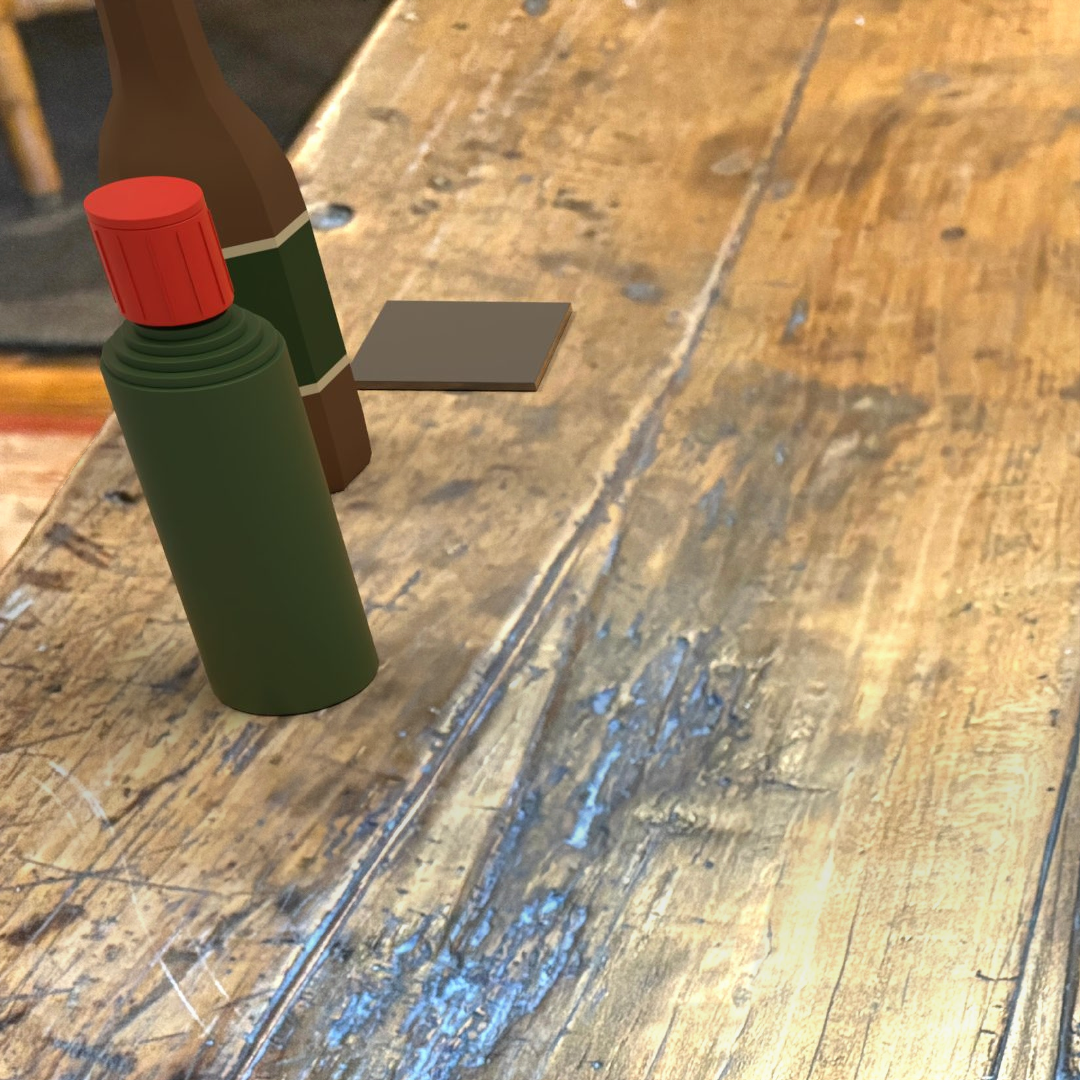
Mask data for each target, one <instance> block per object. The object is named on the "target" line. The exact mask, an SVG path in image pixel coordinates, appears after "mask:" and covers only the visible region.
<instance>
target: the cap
mask: <svg viewBox="0 0 1080 1080" xmlns="http://www.w3.org/2000/svg"><path fill="white" fill-rule="evenodd" d="M83 208H84V211H85V215H86V216H87V224H88V227H89V230H90V233H91V236H92V239H93V242H94V245H95V247H96V250H97V253H98V256H99V257H98V258H99V260H100V262H101V265H102V268H103V271H104V274H105V278H106V281H107V283H108V286H109V289H110V292H111V296H112V298H113V301H114V303H115V304H116V306H117V309H118V311H119V314H121V316H122V317H123V318H124V319H127V320H129V321H131V322H134V323H138V324H142V325H148V326H178V325H185V324H192V323H196V322H199V321H203V320H206V319H209V318H212V317H215V316H216V315H218V314H220V313H222V312H223V311H225V310H226V309H228V308H229V307H230V305H231V304H232V302H233V300H234V294H233V292H234V289H233V286H232V282H231V279H230V276H229V272H228V269H227V266H226V262H225V259H224V256H223V253H222V249H221V246H220V243H219V239H218V236H217V233H216V230H215V226H214V223H213V220H212V216H211V213H210V210H208V208H207V205H206V202H205V198H204V195H203V192H202V190H201V188H200V187H199V186H198V185H197V184H195V183H193V182H191V181H189V180H185V179H181V178H175V177H165V176H150V177H138V178H131V179H126V180H121V181H117V182H114V183H110V184H108V185H105V186H102V187H101V186H100V187H98V188H96V189H94V190H93V191H91V192H90V193H89V194H88V195H86V197H85V198H84V201H83Z"/></svg>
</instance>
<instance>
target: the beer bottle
mask: <svg viewBox="0 0 1080 1080" xmlns="http://www.w3.org/2000/svg"><path fill="white" fill-rule="evenodd" d="M93 2H94V5H95V9H96V12H97V17H98V20H99V25H100V28H101V33H102V36H103V40H104V44H105V48H106V53H107V59H108V66H109V73H110V74H109V75H110V80H111V81H110V83H111V87H112V95H111V98H110V101H109V105H108V106H107V111H106V113H105V117H104V120H103V123H102V126H101V129H100V132H99V135H98V162H97V163H98V165H97V178H98V182H99V185H100V187H102V186H105V185H108V184H110V183H114V182H117V181H121V180H126V179H131V178H138V177H150V176H165V177H175V178H181V179H185V180H189V181H191V182H193V183H195V184H197V185H198V186H199V187H200V188H201V190H202V192H203V195H204V198H205V202H206V205H207V208H208V210H210V213H211V216H212V220H213V223H214V226H215V230H216V233H217V236H218V239H219V243H220V246H221V249H222V253H223V256H224V259H225V262H226V266H227V269H228V272H229V276H230V279H231V282H232V286H233V289H234V292H233V294H234V300H233V302H232V303H233V304H236V305H237V306H239V307H241V308H243V309H246V310H248V311H250V312H252V313H253V314H256V315H258V316H260V317H262V318H264V319H266V320H267V321H269V322H270V323H271V324H272V325H273V327H274V328H275V329H276V330H277V331H278V332H279V333H280V334H281V335H282V336H283V338H284V340H285V342H286V346H287V349H288V352H289V356H290V359H291V363H292V366H293V369H294V373H295V376H296V380H297V383H298V386H299V390H300V393H301V397H302V400H303V403H304V407H305V410H306V414H307V417H308V420H309V424H310V427H311V431H312V434H313V437H314V441H315V444H316V448H317V451H318V454H319V458H320V461H321V465H322V468H323V471H324V475H325V478H326V482H327V485H328V488H329V492H330V494H333V493H335V492H339V491H343V490H345V489H346V487H348V485H349V484H350V483H352V481H353V480H354V479H355V478H356V477H357V476H358V474H360V473H361V472H362V470H364V468H365V467H366V466H367V465H368V464H369V463H370V462H371V459H372V458H371V457H372V454H373V451H372V447H371V446H372V445H371V442H370V436H369V432H368V427H367V423H366V419H365V418H366V417H365V413H364V410H363V406H362V402H361V399H360V396H359V392H358V391H359V390H358V389H357V388H356V384H355V380H354V377H353V373H352V370H351V366H350V364H351V361H350V360H349V356H348V352H347V349H346V344H345V340H344V338H343V337H344V336H343V334H342V330H341V327H340V323H339V319H338V316H337V312H336V309H335V305H334V302H333V297H332V295H331V290H330V286H329V283H328V280H327V276H326V273H325V268H324V265H323V261H322V259H321V254H320V251H319V247H318V244H317V240H316V236H315V233H314V229H313V226H312V222H311V219H310V215H309V211H308V207H307V205H306V202H305V199H304V197H303V194H302V192H301V188H300V185H299V182H298V180H297V177H296V174H295V172H294V169H293V166H292V163H291V162H290V160H289V159H288V158H287V155H286V154H285V153H284V151H283V150H282V148H281V146H280V145H279V143H278V142H277V140H276V138H275V137H274V136H273V134H272V133H271V131H270V130H269V128H268V126H267V125H266V124H265V123H264V122H263V121H262V120H261V119H260V118H259V117H258V115H256V114H255V113H254V112H253V111H252V109H250V108H249V106H247V104H246V103H245V102H243V100H242V99H240V97H239V96H238V95H237V94H236V93H235V92H234V91H233V90H232V88H230V87H229V86H228V84H227V82H226V79H225V77H224V76H223V73H222V70H221V69H220V67H219V65H218V63H217V61H216V59H215V56H214V54H213V52H212V50H211V48H210V46H209V44H208V43H209V42H208V41H207V37H206V34H205V32H204V28H203V26H202V24H201V21H200V18H199V14H198V12H197V9H196V6H195V3H194V1H193V0H93Z"/></svg>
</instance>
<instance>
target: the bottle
mask: <svg viewBox="0 0 1080 1080" xmlns="http://www.w3.org/2000/svg"><path fill="white" fill-rule="evenodd" d="M99 370H100V373H101V376H102V379H103V382H104V384H105V387H106V390H107V393H108V396H109V399H110V401H111V403H112V408H113V410H114V413H115V415H116V419H117V422H118V424H119V427H120V430H121V433H122V436H123V438H124V439H123V440H124V441H125V445H126V447H127V450H128V453H129V456H130V459H131V462H132V464H133V467H134V471H135V473H136V476H137V479H138V481H139V484H140V487H141V490H142V493H143V496H144V499H145V502H146V504H147V508H148V510H149V513H150V516H151V518H152V521H153V524H154V527H155V530H156V532H157V536H158V539H159V542H160V544H161V547H162V550H163V553H164V555H165V559H166V561H167V564H168V568H169V570H170V573H171V577H172V579H173V582H174V585H175V587H176V590H177V593H178V597H179V599H180V601H181V604H182V607H183V610H184V613H185V616H186V619H187V622H188V624H189V627H190V630H191V633H192V636H193V639H194V642H195V644H196V647H197V650H198V654H199V655H200V656H199V657H200V658H201V661H202V664H203V668H204V670H205V673H206V676H207V678H208V681H209V684H210V687H211V690H212V692H213V694H214V696H215V697H216V699H218V698H219V699H218V700H219V701H221V703H223V704H225V705H226V704H227V705H226V706H228V707H230V706H231V707H230V708H232V707H233V709H235V710H237V709H238V710H237V711H240V712H244V711H245V712H244V713H249V714H255V715H263V716H285V715H297V714H303V713H310V712H314V711H317V710H322V709H326V708H328V707H331V706H334V705H337V704H339V703H341V702H344V701H346V700H348V699H349V698H352V697H353V696H356V695H357V694H358V693H360V692H361V691H362V690H364V689H365V688H366V687H367V686H368V685H370V683H371V682H372V681H373V679H374V678H375V677H376V674H377V673H378V670H379V665H380V664H379V663H380V661H379V656H378V652H377V648H376V645H375V642H374V638H373V635H372V633H371V628H370V625H369V621H368V617H367V615H366V611H365V607H364V603H363V601H362V597H361V594H360V591H359V588H358V584H357V580H356V578H355V574H354V570H353V566H352V563H351V560H350V556H349V554H348V551H347V546H346V544H345V540H344V536H343V532H342V529H341V526H340V523H339V519H338V516H337V513H336V509H335V506H334V505H335V504H334V502H333V498H332V495H331V493H330V492H329V488H328V485H327V482H326V478H325V475H324V471H323V468H322V465H321V461H320V458H319V454H318V451H317V448H316V444H315V441H314V437H313V434H312V431H311V427H310V424H309V420H308V417H307V414H306V410H305V407H304V403H303V400H302V397H301V393H300V390H299V386H298V383H297V380H296V376H295V373H294V369H293V366H292V363H291V359H290V356H289V352H288V349H287V346H286V342H285V340H284V338H283V336H282V335H281V334H280V333H279V332H278V331H277V330H276V329H275V328H274V327H273V325H272V324H271V323H270V322H269V321H267V320H266V319H264V318H262V317H260V316H258V315H256V314H253V313H252V312H250V311H248V310H246V309H243V308H241V307H239V306H237V305H236V304H233V303H232V304H231V305H230V307H229V308H228V309H226V310H225V311H223V312H222V313H220V314H218V315H216V316H215V317H212V318H209V319H206V320H203V321H199V322H196V323H192V324H185V325H178V326H148V325H142V324H138V323H134V322H131V321H129V320H127V319H126V318H124V319H123V322H122V323H121V325H119V326H118V327H117V328H116V329H115V331H114V332H113V333H112V335H110V336H109V338H107V340H106V341H105V342H104V344H103V346H102V350H101V355H100V358H99Z"/></svg>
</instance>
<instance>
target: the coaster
mask: <svg viewBox="0 0 1080 1080" xmlns="http://www.w3.org/2000/svg"><path fill="white" fill-rule="evenodd" d="M572 312H573V305H572V303H571V302H564V301H563V302H562V301H561V302H560V301H559V302H558V301H483V300H482V301H479V300H477V301H476V300H474V301H471V300H398V299H397V300H394V299H393V300H392V299H391V300H389V299H387V300H386V301H385V302H384V304H383V306H382V308H381V309H380V311H379V312H378V314H377V316H376V318H375V320H374V322H373V324H372V325H371V327H370V328H369V330H368V332H367V334H366V335H365V337H364V339H363V340H362V343H361V344H360V345H359V348H358V349H357V351H356V353H355V355H354V357H353V358H352V360H351V361H350V366H351V370H352V373H353V377H354V380H355V384H356V388H357V390H428V391H429V390H431V391H432V390H436V391H442V390H445V391H456V390H457V391H458V390H459V391H527V392H528V391H531V392H533V391H534V392H535V391H538V388H539V385H540V383H541V381H542V379H543V376H544V375H545V372H546V370H547V367H548V365H549V363H550V361H551V358H552V356H553V354H554V352H555V350H556V347H557V345H558V343H559V341H560V339H561V336H562V334H563V332H564V330H565V327H566V325H567V324H568V321H569V318H570V317H571V314H572Z"/></svg>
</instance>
